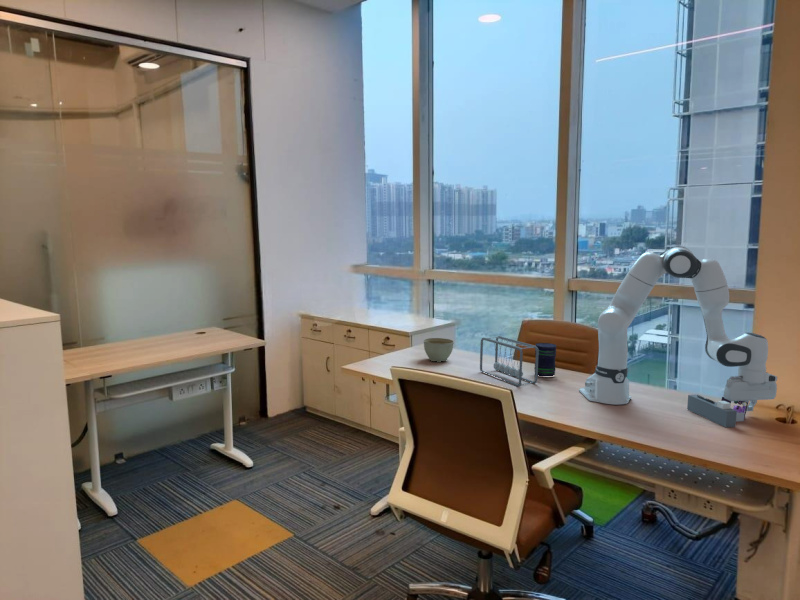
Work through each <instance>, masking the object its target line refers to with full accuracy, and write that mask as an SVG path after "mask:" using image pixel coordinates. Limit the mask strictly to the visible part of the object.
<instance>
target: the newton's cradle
mask: <svg viewBox="0 0 800 600" xmlns="http://www.w3.org/2000/svg"><path fill="white" fill-rule="evenodd" d="M500 340H501V341H500ZM484 341H485V342H486V341H487V342H490V343H493V344H494V345H495V348H494V350H495V352H494V353H495V356H494V364H493V370H500V371H501V372H500V373H502V372H505V373H506V374H505V375H507V374H510V375H512V376H511V377H513V376H515V377H518V378H519V379H518V378H517V379H518V383H517V382H513V381H511V380H508V379H506V378H503V377H500V376H497V375H494V374H492V373H489V372H485V371H484V370H483V352H484ZM504 341H505V342H504ZM507 342H508V343H507ZM514 344H515V345H514ZM516 345H517V346H516ZM499 346H504V347H505V348H509V350H510V353H509V356H512V350H513V349H514V350H515V357H514V360H517V358H518V356H517V353H518V351H519V361H517V365H519V366H518V368H515V366H514V365H515V363H516V361H514V362H513V359H512V357H509V359H508V358H506V355H504V357H503V358H505V360H502V358H499V356H501V354H502V352H501V349H502V347H499ZM520 346H521V347H520ZM525 349H534V350H535V349H536V356H535V361H536V364H535V363H534V368H535V369H534V373H535V375H534V381H533V380H531V379H527V378H525V377H523V375H524V372H523V358H524V357H523V355H524V354H523V352H524V351H523V350H525ZM504 351H505V352H504V354H506V353H507V349H504ZM498 352H499V353H498ZM479 355H480V356H479V371H480V372H481V371H482V372H485V373H487V374H490V375H493V376H495V377H498V378H501V379H502V380H505V381H506V382H505V383H507V382H509V383H511V384H510V385H512V384H513V386H515V385H516V387H518V386H519V387H521V386H523V385H524V384H525V385H528V384H529V385H530V383H529V382H531V384H532V383H534V384H533V385H536V384H537V382H538V378H539V377H538V355H539V350H538V348H537V347H536V345H533V344H530V343H526V342H522V341H519V340H515V339H513V338H509V337H504V336H501V335H498V336H496V337H495V336H494V337H493V336H492V337H482V338H481V339H480V351H479ZM500 359H501V360H500ZM507 359H508V360H507ZM510 359H511V362H513V365H511V366H510V365H509V364H510V363H507V362H508V361H510ZM499 361H500V362H501V363H500V362H499ZM504 361H506V363H507V364H504ZM518 363H519V364H518ZM482 372H481V373H482ZM510 375H509V376H510ZM515 377H514V378H515ZM522 379H523V380H522ZM502 380H501V381H502ZM524 380H526V381H529V382H526V381H525V383H522V381H524ZM509 383H508V384H509Z"/></svg>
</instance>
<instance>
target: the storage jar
mask: <svg viewBox="0 0 800 600" xmlns="http://www.w3.org/2000/svg"><path fill="white" fill-rule="evenodd" d="M535 346H536V347H537V348H538V350H539V355H538V375H539V376H553V375H555V374H556V358H557V344H554V343H550V342H549V343H548V342H538V343H535ZM534 352H535V354H534V356H535V357H536V349H535V348H534ZM535 364H536V360H535V363H534V365H535ZM533 368H534V369H533V370H535V367H533ZM555 376H556V375H555Z"/></svg>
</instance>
